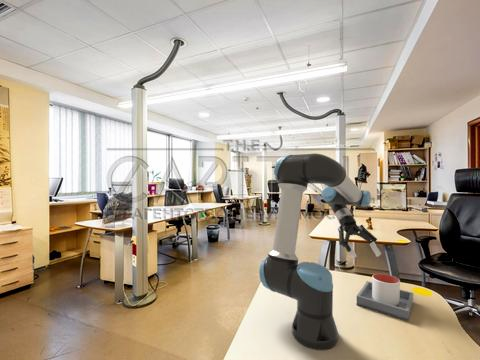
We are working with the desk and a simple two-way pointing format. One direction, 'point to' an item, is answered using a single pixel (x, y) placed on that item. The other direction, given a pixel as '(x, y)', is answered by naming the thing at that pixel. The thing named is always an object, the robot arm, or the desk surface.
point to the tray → (398, 311)
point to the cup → (386, 289)
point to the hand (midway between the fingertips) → (367, 256)
